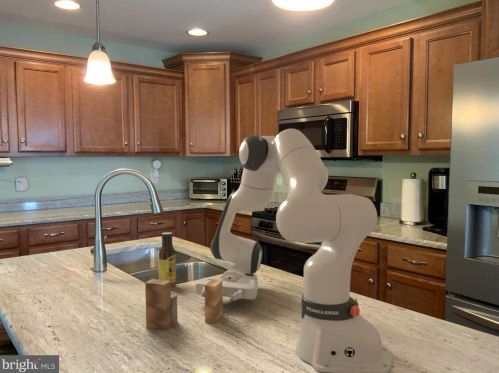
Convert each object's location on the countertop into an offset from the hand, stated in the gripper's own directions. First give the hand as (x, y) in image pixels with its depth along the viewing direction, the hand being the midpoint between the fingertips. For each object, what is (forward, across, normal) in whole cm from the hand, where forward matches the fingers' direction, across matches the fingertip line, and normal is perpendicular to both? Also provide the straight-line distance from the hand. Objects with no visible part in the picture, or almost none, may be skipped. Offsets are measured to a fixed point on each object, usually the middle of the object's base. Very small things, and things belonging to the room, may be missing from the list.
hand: (217, 296), depth 120 cm
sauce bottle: (-20, -28, +6) cm, 35 cm away
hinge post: (+11, -13, +6) cm, 18 cm away
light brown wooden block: (+3, 0, +6) cm, 7 cm away
